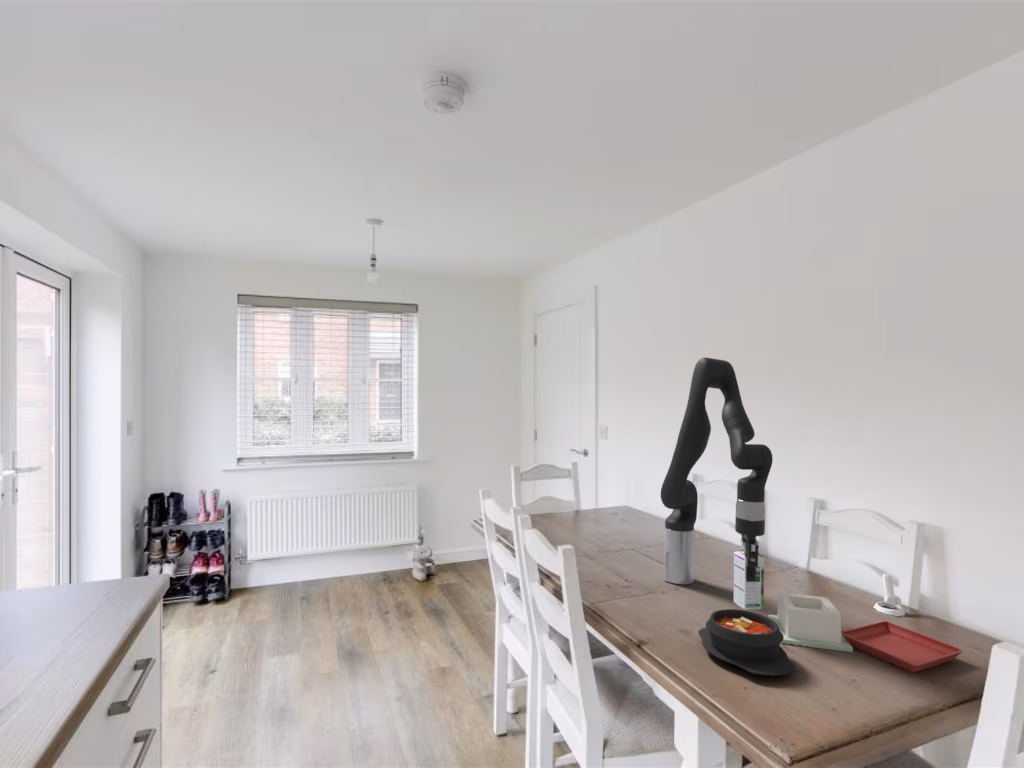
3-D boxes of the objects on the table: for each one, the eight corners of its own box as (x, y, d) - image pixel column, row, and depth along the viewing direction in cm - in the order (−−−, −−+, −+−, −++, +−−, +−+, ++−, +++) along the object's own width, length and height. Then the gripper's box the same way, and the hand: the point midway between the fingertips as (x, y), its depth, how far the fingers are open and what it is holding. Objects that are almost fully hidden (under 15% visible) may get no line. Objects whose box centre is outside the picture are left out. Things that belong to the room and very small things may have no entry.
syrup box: (744, 610, 148) (745, 557, 148) (732, 601, 154) (733, 550, 154) (763, 609, 149) (765, 556, 149) (751, 601, 155) (752, 549, 155)
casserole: (817, 679, 119) (817, 640, 119) (742, 688, 115) (743, 648, 115) (744, 630, 144) (744, 598, 144) (680, 637, 139) (680, 603, 139)
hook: (888, 584, 166) (904, 577, 160) (896, 625, 159) (913, 619, 153) (863, 578, 166) (878, 571, 161) (870, 618, 159) (886, 613, 154)
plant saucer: (916, 679, 120) (916, 664, 120) (838, 644, 137) (838, 631, 137) (964, 664, 127) (964, 650, 127) (885, 633, 144) (885, 620, 144)
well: (780, 643, 136) (780, 611, 136) (768, 618, 152) (768, 589, 152) (852, 652, 132) (853, 618, 132) (832, 625, 148) (832, 595, 148)
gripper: (732, 509, 159) (731, 565, 159) (739, 520, 146) (737, 582, 146) (760, 511, 157) (759, 568, 157) (769, 523, 144) (768, 586, 144)
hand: (748, 575), depth 151 cm, fingers closed on syrup box, 7 cm apart
